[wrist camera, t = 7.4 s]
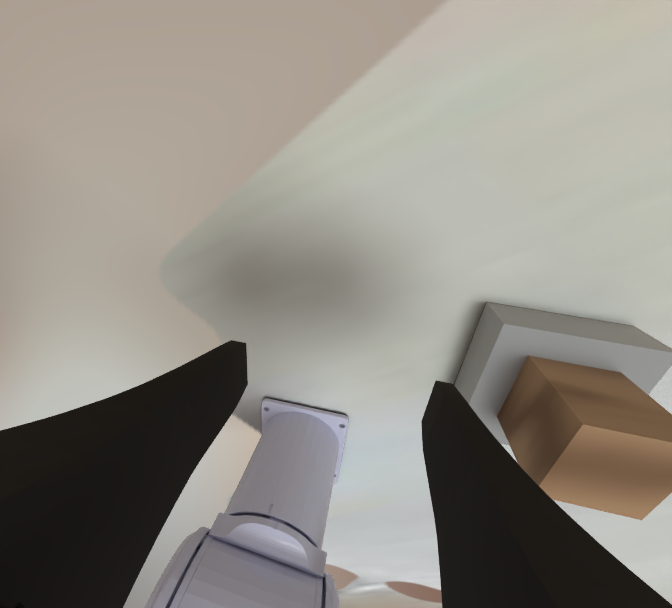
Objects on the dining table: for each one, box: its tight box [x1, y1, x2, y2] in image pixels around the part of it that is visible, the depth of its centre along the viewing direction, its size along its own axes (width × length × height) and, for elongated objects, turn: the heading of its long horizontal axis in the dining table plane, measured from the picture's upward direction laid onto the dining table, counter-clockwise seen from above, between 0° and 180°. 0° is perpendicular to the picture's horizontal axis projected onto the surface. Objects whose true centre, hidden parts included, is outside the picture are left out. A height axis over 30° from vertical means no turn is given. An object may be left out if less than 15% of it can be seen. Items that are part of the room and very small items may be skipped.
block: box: [497, 355, 672, 520], centre depth 15 cm, size 5×5×5 cm
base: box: [454, 302, 672, 445], centre depth 18 cm, size 9×9×3 cm
